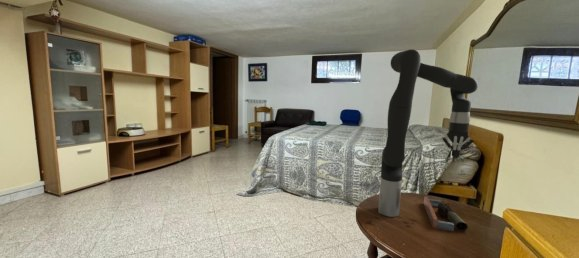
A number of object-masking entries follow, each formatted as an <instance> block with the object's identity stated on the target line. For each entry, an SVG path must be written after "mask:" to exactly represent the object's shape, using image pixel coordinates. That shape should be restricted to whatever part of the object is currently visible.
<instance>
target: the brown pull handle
mask: <svg viewBox="0 0 579 258" xmlns="http://www.w3.org/2000/svg"><path fill="white" fill-rule="evenodd" d="M439 203H443V202H442V200H440V199H431V198H429V197H428V196H424V199H423V205H424V209H425V211H426V213H427V215H428V218H429V219H428V220H429V221H430V224H431V226H432V228H433V229H438V230H444V231H448V232H454V229H455V226H454V224H453V223H451V221H444V220H438V217H437V215H436V212H435V210H434V208H438V204H439ZM433 207H434V208H433Z"/></svg>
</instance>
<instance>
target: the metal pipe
mask: <svg viewBox="0 0 579 258" xmlns="http://www.w3.org/2000/svg"><path fill="white" fill-rule="evenodd" d="M437 214H438V217H440V218H442V219H446V220H449V222H450V223H453V224H454V229H456V230H458V231H460V232H465V231H467V230H468V229H469V226H468V223H466V222H465V221H464V219H462V218H461V217H460V216H459V215H458V214H457V213H456V212H455V211H454V210H453V208H452V207H451V205H448V203H443V202H442V203H439V204H438V207H437Z"/></svg>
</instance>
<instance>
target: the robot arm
mask: <svg viewBox="0 0 579 258" xmlns="http://www.w3.org/2000/svg"><path fill="white" fill-rule="evenodd" d="M421 58H422V57H421V54H420V53H419V52H418V51H417V50H416V49H406V50H403V51H399V52H397V53H394V55H393V56H392V57H391V59H390V66H391V67H390V68H391V69H392V70H393V71H394V72H396V73H399V78H398V82H397V83H398V84H397V87H396V88H395V90H394V92H393V94H392V96H391V98H390V101H389V102H388V103H389V105H388V110H387V111H388V112H387V137H386V143H385V147H384V148H383V149H382V153H381V165H380V170H381V171H380V172H381V173H380V183H379V196H378V209H377V210H378V214H381V215H383V216H385V217H390V218H392V217H393V218H394V217H396V218H397V217H398V216H399V215H400V208H401V207H400V206H401V195H402V194H401V193H402V184H403V183H402V182H403V163H404V161H405V157H406V156H405V154H406V151H405V150H406V149H405V148H406V136H407V132H408V129H409V124H410V118H411V114H412V107H413V98H414V94H415V87H416V82H417V79H418V78H420V79H423V80H425V81H428V82H431V83H433V84H435V85H439V86H441V87H443V88H448V89H449V93H450V96H451V98H450V99H451V102H452V104H451V111H450V117H449V123H448V132H447V134H446V135H445V136H441V140H442V141H443V143H444V144H445V145H446V147H447V148H449V149H451V154H450V155H451V156H452V158H454V159H457V158H459V157H460V151H462V150H467V148H468V147H469V146H470V145H472V144H473V143H474V142H475V141H474V139H472V138H471V137H470V135H469V129H470V121H471V120H470V119H471V113H470V112H471V109H472V107H471V106H472V101H471V100H470V99H468V98H466V96H465V94H466V95H467V94H469V95H470V94H472V93H475V92H476V91H477V89H478V87H479V83H478V81H477V80H476V79H475V78H474V77H471V76H468V75H464V74H459V73H455V72H454V71H450V70H448V69H445V68H443V67H439V66H437V65H430V64H426V63H422V62H421ZM449 141H450V142H451V144H450V142H449Z"/></svg>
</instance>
